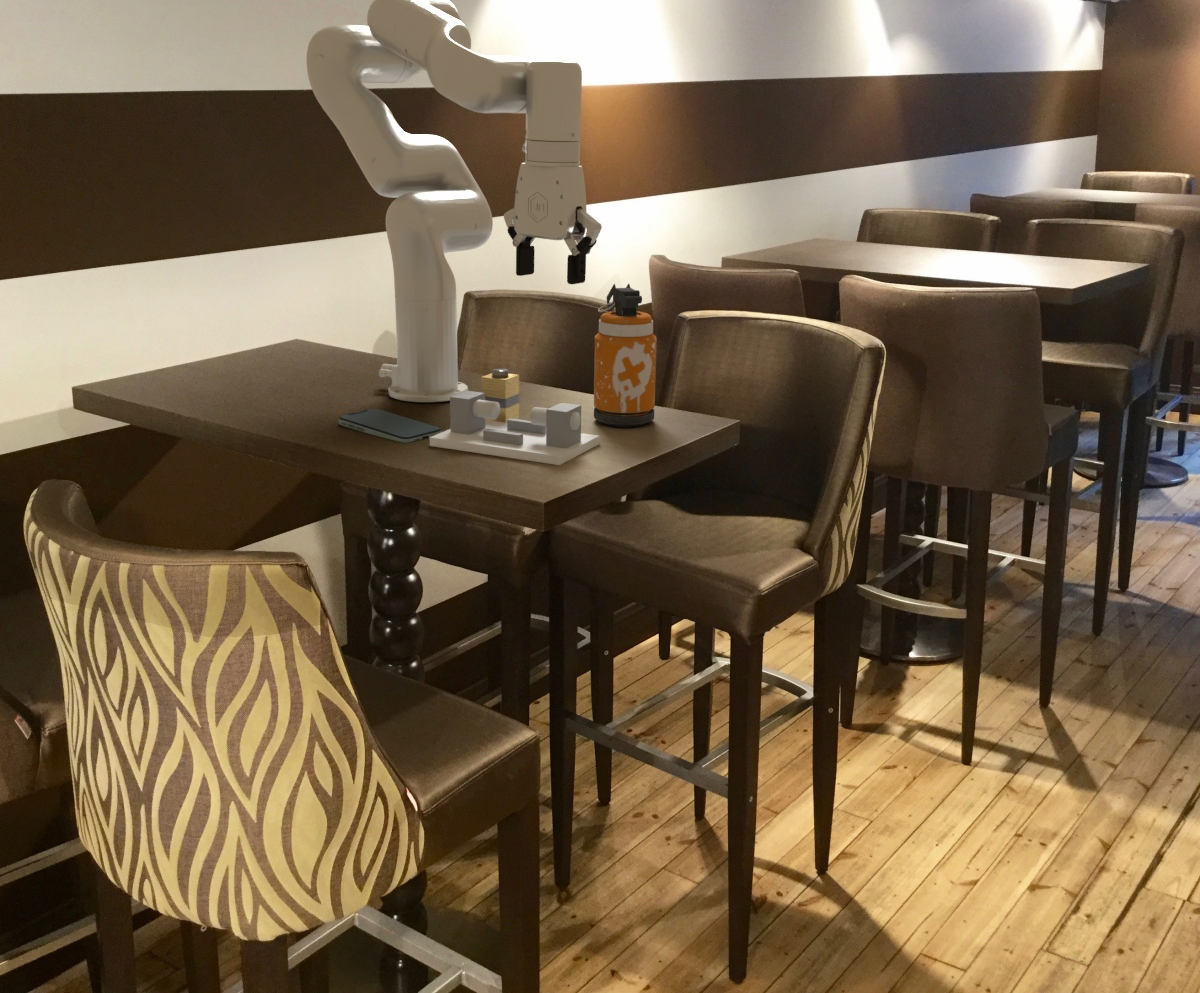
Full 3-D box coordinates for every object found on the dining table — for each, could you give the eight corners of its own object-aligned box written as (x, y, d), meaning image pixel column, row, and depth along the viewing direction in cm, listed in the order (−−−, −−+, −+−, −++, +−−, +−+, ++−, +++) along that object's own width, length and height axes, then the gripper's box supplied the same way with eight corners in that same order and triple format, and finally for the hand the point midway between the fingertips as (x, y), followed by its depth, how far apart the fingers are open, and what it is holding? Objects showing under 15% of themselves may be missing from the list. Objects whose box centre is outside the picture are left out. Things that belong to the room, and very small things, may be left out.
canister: (602, 430, 184) (605, 291, 178) (583, 412, 194) (584, 280, 188) (662, 427, 186) (666, 290, 180) (639, 409, 196) (643, 279, 190)
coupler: (481, 424, 186) (481, 371, 184) (495, 418, 190) (495, 366, 188) (505, 427, 185) (505, 374, 182) (519, 421, 188) (519, 369, 186)
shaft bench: (429, 445, 174) (428, 401, 173) (474, 426, 185) (474, 384, 183) (559, 465, 166) (559, 419, 164) (599, 444, 177) (600, 400, 175)
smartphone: (404, 438, 175) (335, 416, 184) (404, 450, 176) (335, 427, 185) (445, 427, 181) (375, 407, 190) (445, 439, 181) (376, 417, 190)
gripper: (488, 150, 178) (487, 274, 183) (582, 159, 167) (579, 289, 173) (525, 149, 183) (523, 269, 189) (618, 157, 173) (614, 283, 178)
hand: (550, 278), depth 181 cm, fingers open, 9 cm apart
